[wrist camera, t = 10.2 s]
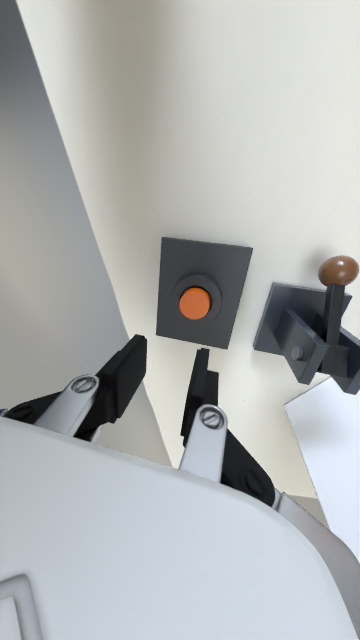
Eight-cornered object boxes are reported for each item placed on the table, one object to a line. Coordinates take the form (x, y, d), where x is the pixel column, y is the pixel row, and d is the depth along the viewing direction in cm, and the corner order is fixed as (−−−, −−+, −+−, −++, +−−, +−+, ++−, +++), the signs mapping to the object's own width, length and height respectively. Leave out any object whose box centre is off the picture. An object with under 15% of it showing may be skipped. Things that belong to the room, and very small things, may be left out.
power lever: (313, 261, 21) (333, 247, 18) (344, 265, 20) (370, 251, 17) (299, 367, 20) (317, 372, 17) (332, 374, 19) (357, 380, 16)
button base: (167, 237, 25) (157, 236, 21) (250, 247, 24) (255, 248, 20) (161, 327, 31) (151, 340, 27) (226, 340, 30) (227, 356, 25)
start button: (183, 285, 23) (181, 288, 22) (212, 290, 23) (211, 293, 21) (180, 311, 25) (177, 316, 23) (207, 316, 24) (206, 322, 23)
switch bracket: (272, 282, 25) (305, 310, 15) (346, 293, 23) (434, 331, 14) (252, 345, 29) (267, 399, 19) (314, 357, 28) (364, 421, 18)
